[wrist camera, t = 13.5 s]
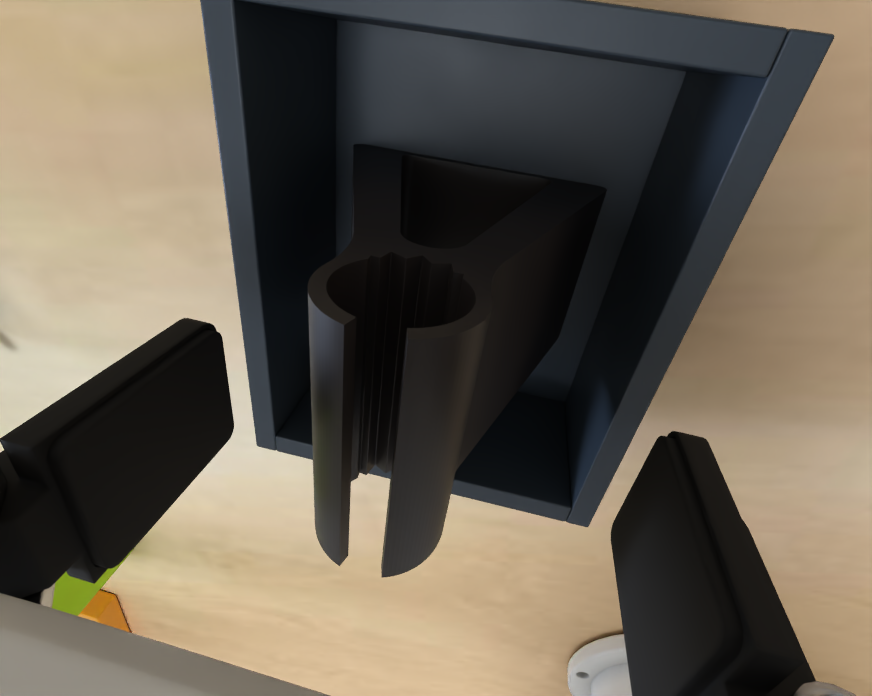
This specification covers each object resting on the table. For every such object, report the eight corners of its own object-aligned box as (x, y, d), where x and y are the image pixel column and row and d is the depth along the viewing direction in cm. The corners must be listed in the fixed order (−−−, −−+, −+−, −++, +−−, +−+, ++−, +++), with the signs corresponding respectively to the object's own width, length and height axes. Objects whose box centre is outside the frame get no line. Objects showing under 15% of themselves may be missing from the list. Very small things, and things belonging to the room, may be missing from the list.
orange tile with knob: (116, 594, 43) (78, 642, 40) (131, 634, 48) (98, 680, 44) (38, 569, 44) (-6, 614, 40) (60, 611, 48) (22, 654, 44)
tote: (719, 44, 14) (837, 34, 8) (576, 410, 22) (588, 528, 16) (320, -13, 15) (192, -55, 9) (324, 354, 23) (256, 446, 17)
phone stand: (352, 288, 20) (162, 518, 10) (357, 141, 17) (81, 264, 7) (558, 333, 19) (574, 631, 9) (606, 187, 16) (714, 404, 6)
